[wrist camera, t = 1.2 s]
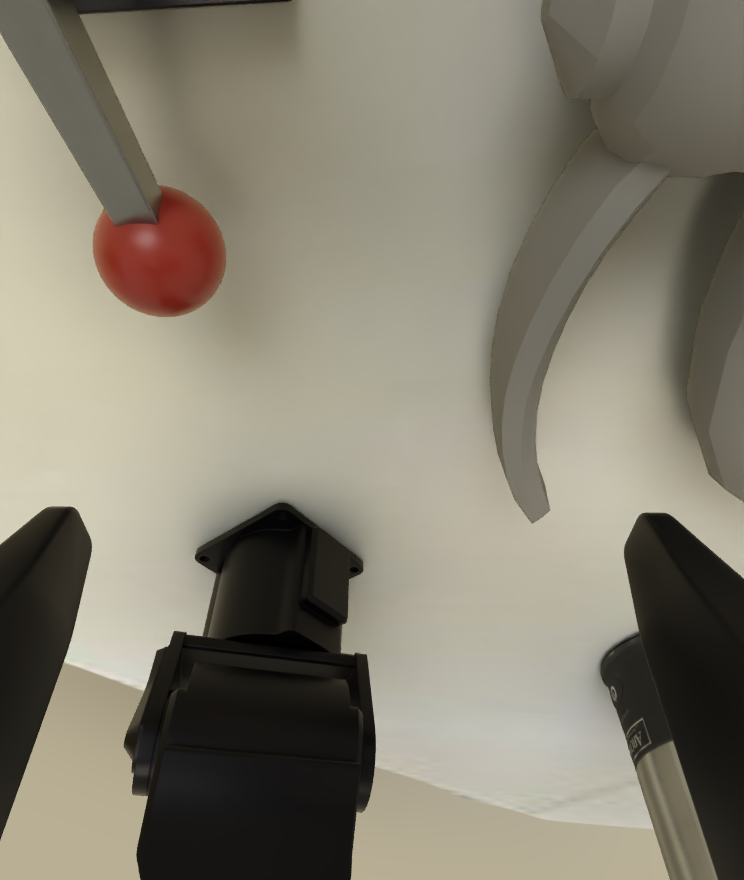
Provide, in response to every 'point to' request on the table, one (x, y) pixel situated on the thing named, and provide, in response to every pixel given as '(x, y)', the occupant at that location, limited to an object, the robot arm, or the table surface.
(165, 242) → the tap lever
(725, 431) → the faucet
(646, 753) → the milk frother
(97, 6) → the bracket
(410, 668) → the table surface
